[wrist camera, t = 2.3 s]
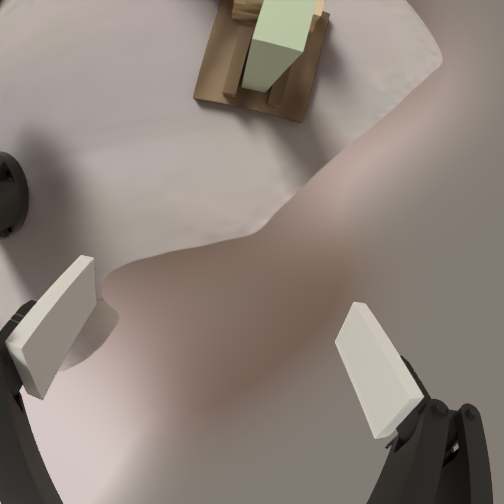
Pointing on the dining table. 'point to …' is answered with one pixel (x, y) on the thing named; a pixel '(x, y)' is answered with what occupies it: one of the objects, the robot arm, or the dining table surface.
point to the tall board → (277, 41)
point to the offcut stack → (250, 6)
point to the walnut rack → (234, 63)
